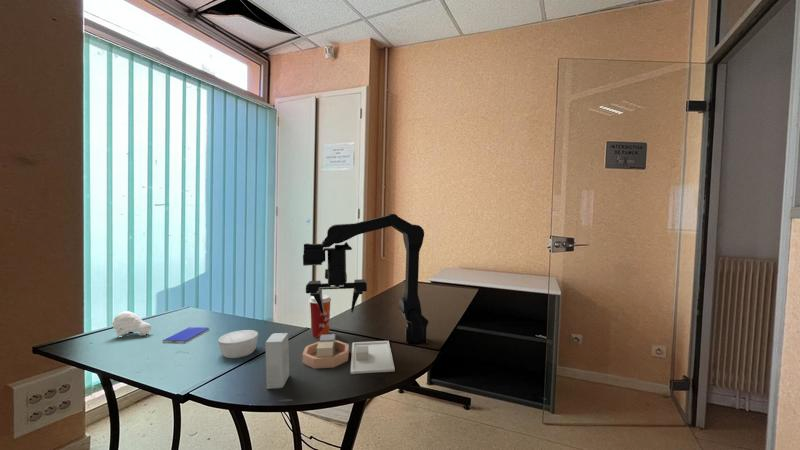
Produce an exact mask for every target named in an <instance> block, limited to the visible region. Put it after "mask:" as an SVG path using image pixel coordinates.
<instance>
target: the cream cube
mask: <svg viewBox="0 0 800 450" xmlns="http://www.w3.org/2000/svg"><path fill="white" fill-rule="evenodd" d="M317 342H318V345H317V357H333V356H334V342H319V341H317Z"/></svg>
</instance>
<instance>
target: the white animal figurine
mask: <svg viewBox="0 0 800 450" xmlns="http://www.w3.org/2000/svg"><path fill="white" fill-rule="evenodd" d="M111 325H112V328H113V329H114V330H115V333H116V335H117V337H118V336H122V337H123V336H124V334H128V333H127V332H133V333H135V332H136V333H138V335H139V336H140V337H141V336H147V335H148V334H149V333H150V332H151V330H152V324H150V323H148V322H145V321H143V319H142V318H141V317H140V316H139V315H137V314H136V313H134V312H132V311H128V310H126V311H120V313H118V314H116V315H115V317H114V319H113V321H112V323H111ZM146 334H147V335H146Z"/></svg>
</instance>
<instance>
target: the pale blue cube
mask: <svg viewBox="0 0 800 450" xmlns="http://www.w3.org/2000/svg"><path fill="white" fill-rule="evenodd" d="M335 340H336V334H335V333H331V334H330V333H329V334H327V335H321V336H320V337H319V340H318V342H334V355H335Z"/></svg>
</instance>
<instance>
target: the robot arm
mask: <svg viewBox="0 0 800 450" xmlns="http://www.w3.org/2000/svg"><path fill="white" fill-rule="evenodd" d="M388 227H392V228H393V229H394V230H396V231H397V232H399V233H401V234H402V238H403V239H402V240H403V244H404V247H405V251H406V253H405V276H404V277H405V280H404V281H405V283H404V292H403V296H399V297H398V300H399V301H398V302H399V303H398V305H399V306H398V308H397V309H398V310H399V311H400V313H401V315H402V316H403V317H404V319H405V320H406V321H408V322H406V326H405V328H404V333H405V334H404V339H405V341H406V342H407V345H409V346H413V345H428V340H427V326H428V324H429V319H428V318H426V317H425V316H424V315H423V314H422V313H423V312H422V306H421V301H420V298H419V297H420V296H419V271H420V270H419V267H420V250H421V248H422V246H423V243H424V239H425V230H424V229H423V227H422V226H421V225H418V224H413V223H410V222H409V221H406V220H405V219H403V218H402V217H400V216H398V215H397V214H396V213H389V214H387V215H383V216H379V217H375V218H371V219H367V220H363V221H359V222H355V223H342V224H341V223H340V224H332V225H331V226H330V227H328V229H327V232H326V237H325V238H324V239H323V240H322V242H321V243H304V244H303V254H302V263H303V266H304V267H306V266H322V265H323V263H324V262H326V252H327V268H325V271H324V279H325V280H327V283H322V281H321V280H309V282H307V284H305V293H306V294H309V295H310V297H311V296H314V298H315V300H316V301H317V303H318V305H319V308H320V310H321V313H322V314H323V313H324V307H323V299H322V295H323V290H342V289H343V290H345V289H346V290H347V289H349V290H350V289H352V290H353V291H352V299H351V309H350V310H351V311H350V312H351V313H352V314H353V312H354V309H355V307H356V303H357V302H358V298H359V296H360V295H363V294H364V292H367V291H368V289H367V288H368V286H367V285H368V284H367V282H368V281H367V280H366V279H364V278H363V279H354V282H348V281H347V280H348V275H347V251H352V249H353V248H352V247H351V246H350V245H349V243H348V242H347V241H348V240H350V239H352V238H354V237H355V236H358V235H361V234H362V235H363V234H366V233H370V232H373V231H377V230H382V229H386V228H388ZM343 243H344V244H343ZM333 245H334V247H331V246H333Z"/></svg>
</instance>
